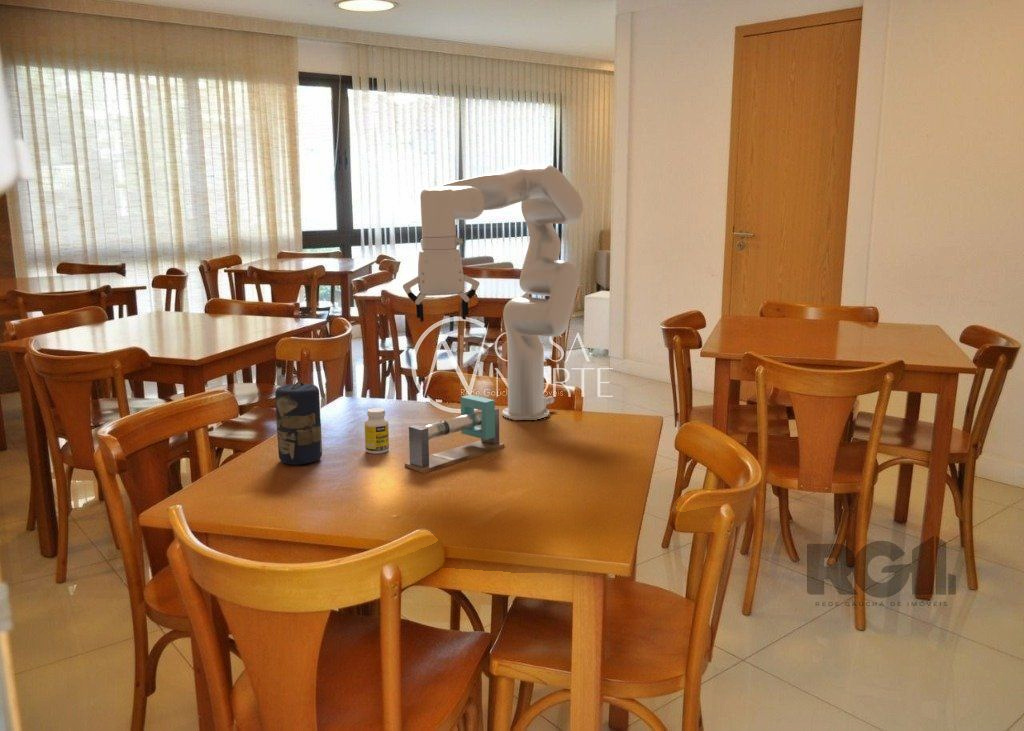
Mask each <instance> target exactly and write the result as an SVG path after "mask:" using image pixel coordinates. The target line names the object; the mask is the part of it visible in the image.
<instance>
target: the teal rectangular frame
mask: <svg viewBox="0 0 1024 731" xmlns="http://www.w3.org/2000/svg"><path fill="white" fill-rule="evenodd" d="M495 402H496V401H495V399H490V398H487V397H482V396H477V395H473V394H467V395H463V396H460V416H462V415H466V414H469V413H473V412H475V409H476V410H478V411H480V410H481V412H482V428H481V427H479V426H475V427H472V428H468V429H465V430H461V431H460V433H461V434H462V435H467V436H470V437H474V438H478V439H480V440H481V439H485V440H487V439H490V438H494V437H495V408H496V407H495V406H496V404H495Z"/></svg>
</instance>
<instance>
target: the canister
mask: <svg viewBox="0 0 1024 731" xmlns="http://www.w3.org/2000/svg"><path fill="white" fill-rule="evenodd" d="M274 393H275V395H274V396H275V398H274V399H275V416H276V418H275V420H276V434H277V435H276V437H277V447H278V448H277V450H278V451H277V452H278V458H279V460H280V462H282V463H285V464H287V465H306V464H311V463H314V462H317V461H318V460H320V459H321V458H322V456H323V440H322V439H323V436H322V423H321V422H322V421H321V406H320V405H321V402H320V401H321V400H320V389H319V387H318V386H317V385H316V384H311V383H304V382H301V381H297V382H295V383H288V384H285V385H284V384H283V385H281V386H278V387H277V388H276V389H275V392H274Z"/></svg>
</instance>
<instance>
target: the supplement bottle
mask: <svg viewBox="0 0 1024 731" xmlns="http://www.w3.org/2000/svg"><path fill="white" fill-rule="evenodd" d="M366 411H367V413H366V414H367V418H366V419H365V420H364V445H365V446H364V447H365V451H366V453H368V454H374V455H379V454H385V453H387V452H388V451H389V449H390V440H389V439H390V437H389V420H388V419H387V418H386V417H385V416H386V409H385V408H382V407H373V408H369V409H367V410H366Z"/></svg>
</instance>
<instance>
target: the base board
mask: <svg viewBox="0 0 1024 731" xmlns="http://www.w3.org/2000/svg"><path fill="white" fill-rule="evenodd" d="M503 448H506V447H505V443H502V442H500V441H499V444H496V445H491V444H487V443H483V442H481V439H480V440H476V441H474V442H469V443H466V444H464V445H461V446H457V447H453V448H450V449H447V450H443V451H441V452H438V453H436V452H435V453H433V454H431V455H430V454H429V466H427V467H424V468H421V467H418V466H415V465H412V464H410V461H408V462H407V461H406V462H404V467H405V468H407V469H409V470H414V471H417V472H419V473H422V474H427V473H429V472H432V471H435V470H438V469H441V468H445V467H447V466H451V465H454V464H457V463H461V462H463V461H466V460H469V459H474V458H475V457H479V456H482V455H485V454H487V453H490V452H495V451H497V450H499V449H503Z"/></svg>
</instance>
